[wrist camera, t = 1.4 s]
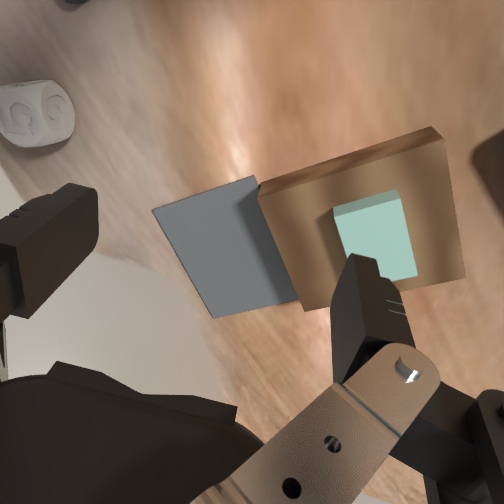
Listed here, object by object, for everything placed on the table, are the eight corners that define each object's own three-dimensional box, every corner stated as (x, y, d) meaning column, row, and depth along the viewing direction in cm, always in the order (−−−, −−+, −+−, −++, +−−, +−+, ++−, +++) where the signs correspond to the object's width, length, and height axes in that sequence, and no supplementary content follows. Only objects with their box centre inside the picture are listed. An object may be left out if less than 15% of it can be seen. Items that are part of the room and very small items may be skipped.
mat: (253, 174, 38) (253, 175, 38) (303, 296, 45) (303, 298, 45) (153, 209, 42) (152, 210, 42) (214, 316, 49) (213, 318, 49)
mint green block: (396, 188, 33) (400, 198, 31) (413, 263, 36) (417, 275, 35) (333, 207, 34) (334, 217, 33) (355, 276, 38) (357, 288, 36)
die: (17, 81, 37) (-21, 90, 32) (64, 77, 36) (31, 86, 32) (37, 134, 39) (3, 149, 35) (81, 132, 38) (53, 146, 34)
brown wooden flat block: (431, 126, 33) (443, 138, 30) (453, 255, 40) (465, 277, 36) (262, 182, 38) (257, 198, 35) (305, 289, 45) (304, 311, 41)
